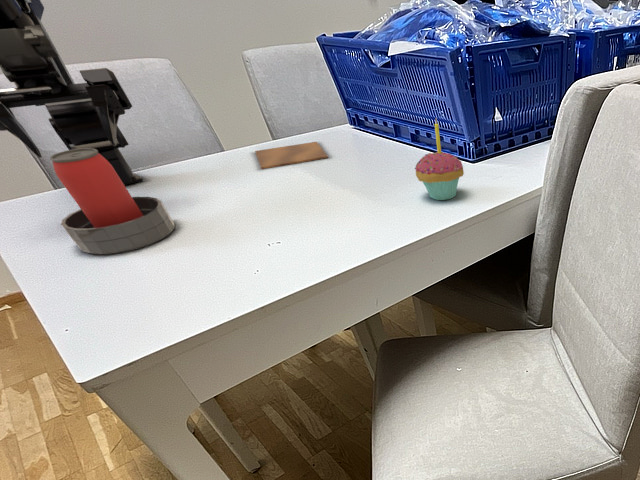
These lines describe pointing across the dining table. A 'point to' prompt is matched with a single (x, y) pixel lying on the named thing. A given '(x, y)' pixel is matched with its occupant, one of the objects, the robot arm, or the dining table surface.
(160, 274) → the dining table surface
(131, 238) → the pan
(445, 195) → the cupcake
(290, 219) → the dining table surface
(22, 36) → the robot arm
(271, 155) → the cork mat
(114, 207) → the beer can
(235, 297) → the dining table surface
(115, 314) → the dining table surface
